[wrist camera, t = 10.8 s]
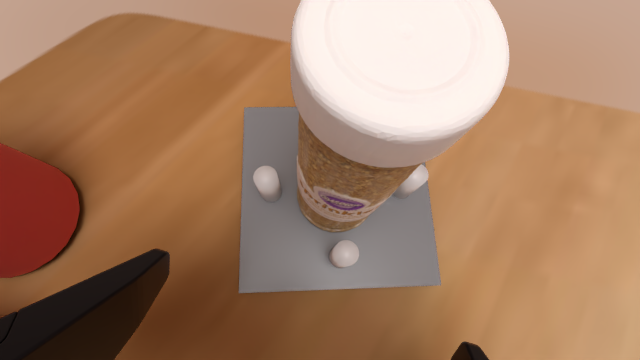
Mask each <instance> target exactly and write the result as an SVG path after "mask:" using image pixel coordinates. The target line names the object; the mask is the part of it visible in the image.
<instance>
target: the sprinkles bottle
mask: <svg viewBox="0 0 640 360" xmlns="http://www.w3.org/2000/svg"><path fill="white" fill-rule="evenodd" d="M290 64H291V87H292V93H293V98H294V101H295V104H296V107H297V109H298V111H299V122H298V131H299V133H298V155H297V181H298V187H297V200H298V203H299V206H300V209H301V211H302V213H303V214H304V216H305V217H306V218H307V219H308V220H309V221H310V222H311V223H312V224H314V225H316V226H317V227H319V228H320V229H322V230H325V231H329V232H344V231H348V230H351V229H353V228H356V227H358V226H359V225H360V224H362V223H363V222H364V221H365V220H366V219H367V217H368V216H369V215H370V214H371V213H372V212H374V211H375V210H376V209H377V208H378V207H379V206H380V205H381V204H382V203H384V202H385V201H386V200H387V199H388V198H389V197H390V196H391V195H392V194H393V193H394V192H395V191H396V189H397V188H398V187H399V186H400V185H401V184H402V183H403V182H404V181H405V180H406V179H407V178H408V177H409V176H410V175H411V174H412V173H413V171H415V170H416V169H417V167H419V166H420V165H421V164H422V163H423V162H426V161H429V160H431V159H433V158H435V157H437V156H438V155H440V154H442V153H443V152H445V151H446V150H447V149H448V148H450V147H451V146H452V145H453V144H454V143H456V142H457V141H458V140H459V139H460V138H461V137H462V136H463V135H465V134H466V133H467V132H468V131H469V130H470V129H471V128H472V127H473V126H474V125H475V124H476V123H478V122H479V121H480V120H481V119H482V118H483V117H484V116H485V115H486V114H487V112H488V111H489V110H490V109H491V107H492V106H493V105H494V103H495V102H496V100H497V98H498V97H499V95H500V93H501V91H502V88H503V86H504V83H505V79H506V77H507V72H508V66H509V46H508V41H507V36H506V32H505V29H504V27H503V24H502V22H501V20H500V17H499V15H498V13H497V12H496V10H495V8H494V7H493V6H492V4H491V3H490V1H489V0H301V2H300V4H299V6H298V9H297V11H296V13H295V17H294V20H293V25H292V32H291V63H290Z"/></svg>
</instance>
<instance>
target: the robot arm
mask: <svg viewBox="0 0 640 360" xmlns="http://www.w3.org/2000/svg"><path fill="white" fill-rule="evenodd" d="M169 263H170V255H169V253H168V252H167V251H164V250H160V249H153V250H150V251H148V252H146V253H144V254H142V255H139V256H137V257H135V258H133V259H131V260H128V261H126V262H124V263H122V264H119V265H117V266H115V267H113V268H111V269H108V270H106V271H104V272H102V273H100V274H97V275H95V276H93V277H91V278H89V279H86V280H84V281H82V282H80V283H78V284H75V285H73V286H71V287H69V288H67V289H64V290H62V291H60V292H58V293H55V294H53V295H51V296H49V297H47V298H44V299H42V300H40V301H38V302H36V303H33V304H31V305H29V306H27V307H25V308H22V309H20V310H19V311H18V312H13V313H11V314H9V315H7V316H4V317H2V318H0V360H114V359H115V358H116V356H117V355H118V354H119V352H120V351H121V349H122V348H123V347H124V345H125V344H126V343H127V341H128V340H129V339H130V337H131V336H132V335H133V333H134V332H135V331H136V329H137V328H138V326H139V325H140V323H141V322H142V320H143V318H144V317H145V315H146V313H147V312H148V310H149V308H150V307H151V305H152V303H153V302H154V300H155V298H156V297H157V295H158V293H159V292H160V290H161V288H162V287H163V285H164V283H165V282H166V280H167V278H168V275H169ZM451 360H489V359H488V358H487V356H486V355H485V354H484V352H483V351H482V349H481V348H480V347H479V346H478V345H475V344H472V343H469V342H462V343H461V344H460V346H459V347H458V349H457V350H456V352H455V353H454V355H453V356H452V358H451Z"/></svg>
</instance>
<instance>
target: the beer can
mask: <svg viewBox="0 0 640 360" xmlns="http://www.w3.org/2000/svg"><path fill="white" fill-rule="evenodd" d="M79 211H80V208H79V200H78V193H77V191H76V190H75V188H74V186H73V184H72V182H71V180H70V178H68V177H67V176H66V175H65V174H64V173H62V172H61V171H60V170H59V169H58V168H56V167H53V166H51V165H49V164H47V163H44V162H42V161H40V160H38V159H35V158H33V157H31V156H29V155H26V154H24V153H22V152H19V151H17V150H15V149H13V148H10V147H8V146H6V145H4V144H1V143H0V278H12V277H15V276H19V275H22V274H25V273H29V272H32V271H34V270H35V269H37V268H39V267H40V266H42V265H44V264H45V263H47V262H49V261H50V260H52V259H53V258H54V257H55V256H56V255H57V254H58V253H59V252H60V251H61V250H62V249H63V248H64V247H65V246H66V245H67V243H68V241H69V239H70V237H71V236H72V234H73V232H74V230H75V228H76V225H77V220H78V216H79Z"/></svg>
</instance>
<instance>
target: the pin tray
mask: <svg viewBox="0 0 640 360" xmlns="http://www.w3.org/2000/svg"><path fill="white" fill-rule="evenodd" d="M298 122H299V111H298V109H297V107H247V108H244V139H243V171H242V203H241V234H240V266H239V293H255V292H280V291H306V290H331V289H357V288H382V287H408V286H433V285H441V280H440V272H439V265H438V257H437V250H436V242H435V234H434V227H433V219H432V212H431V204H430V197H429V189H428V181H427V179H428V171H427V169H426V166H425V162H423V163H422V164H421V165H420V166H419V167H417V169H416V170H415V171H413V173H412V174H411V175H410V176H409V177H408V178H407V179H406V180H405V181H404V182H403V183H402V184H401V185H400V186H399V187H398V188H397V189H396V191H395V192H394V193H393V194H392V195H391V196H390V197H389V198H388V199H387V200H386V201H385V202H384V203H382V204H381V205H380V206H379V207H378V208H377V209H376V210H375V211H374V212H372V213H371V214H370V215H369V216H368V217H367V219H366V220H365V221H364V222H363V223H362V224H360V225H359V226H358V227H356V228H353V229H351V230H348V231H344V232H329V231H325V230H322V229H320V228H319V227H317V226H316V225H314V224H312V223H311V222H310V221H309V220H308V219H307V218H306V217H305V216H304V214H303V213H302V211H301V209H300V206H299V203H298V200H297V187H298V181H297V155H298V133H299V131H298Z"/></svg>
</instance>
